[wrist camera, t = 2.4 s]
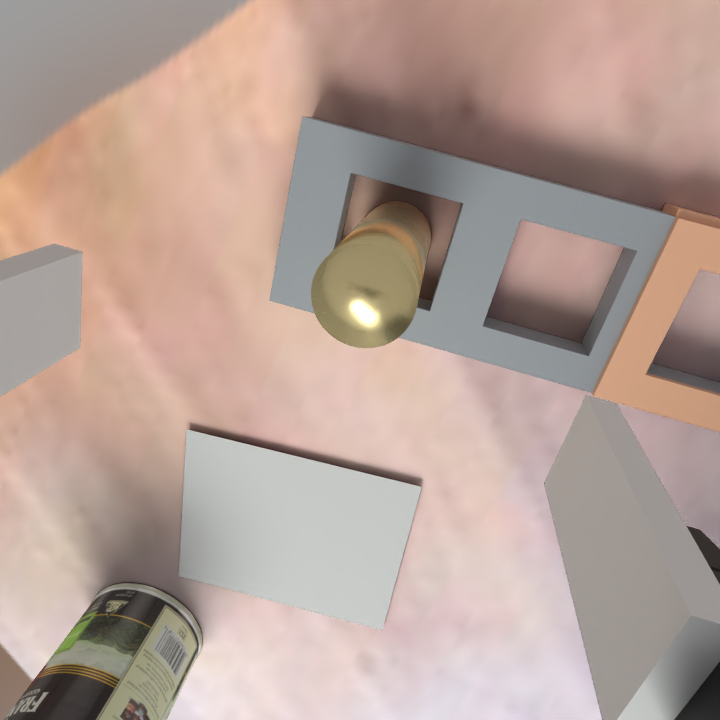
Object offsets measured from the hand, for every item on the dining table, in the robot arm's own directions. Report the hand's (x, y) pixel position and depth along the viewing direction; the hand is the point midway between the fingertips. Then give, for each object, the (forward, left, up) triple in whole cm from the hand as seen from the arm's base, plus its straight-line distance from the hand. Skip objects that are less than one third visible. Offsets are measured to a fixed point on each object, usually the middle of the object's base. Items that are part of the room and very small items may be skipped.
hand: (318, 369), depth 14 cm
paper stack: (-2, +18, -20) cm, 27 cm away
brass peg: (0, 0, -19) cm, 19 cm away
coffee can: (+12, +38, -19) cm, 44 cm away
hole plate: (-9, 0, -19) cm, 21 cm away
